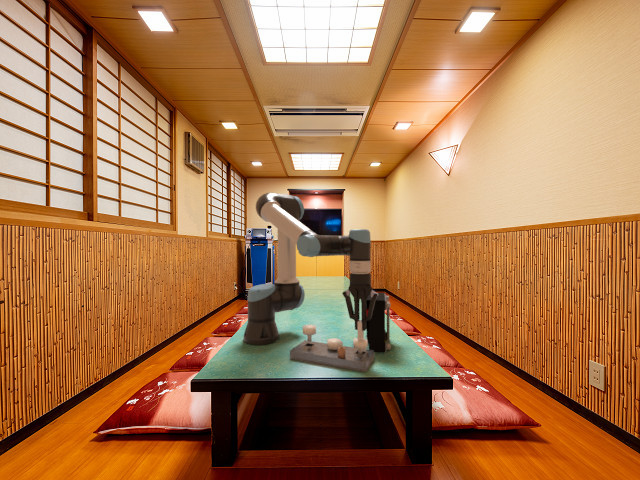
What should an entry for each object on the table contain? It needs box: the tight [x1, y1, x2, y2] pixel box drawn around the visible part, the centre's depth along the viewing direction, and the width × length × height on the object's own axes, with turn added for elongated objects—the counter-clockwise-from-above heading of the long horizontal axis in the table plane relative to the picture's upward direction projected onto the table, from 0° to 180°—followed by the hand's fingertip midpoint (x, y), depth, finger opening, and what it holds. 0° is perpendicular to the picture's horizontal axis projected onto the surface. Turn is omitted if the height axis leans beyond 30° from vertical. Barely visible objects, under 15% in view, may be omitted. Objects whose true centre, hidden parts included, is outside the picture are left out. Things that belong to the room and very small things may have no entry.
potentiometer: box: [338, 341, 345, 358], centre depth 99 cm, size 3×3×5 cm
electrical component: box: [365, 292, 392, 354], centre depth 119 cm, size 18×10×20 cm, turn 168°
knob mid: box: [326, 337, 341, 350], centre depth 106 cm, size 5×5×6 cm
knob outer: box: [352, 337, 369, 355], centre depth 103 cm, size 5×5×6 cm
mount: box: [289, 340, 375, 373], centre depth 105 cm, size 28×12×3 cm, turn 67°
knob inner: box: [302, 324, 317, 342], centre depth 110 cm, size 5×5×6 cm
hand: (360, 339), depth 102 cm, fingers closed
